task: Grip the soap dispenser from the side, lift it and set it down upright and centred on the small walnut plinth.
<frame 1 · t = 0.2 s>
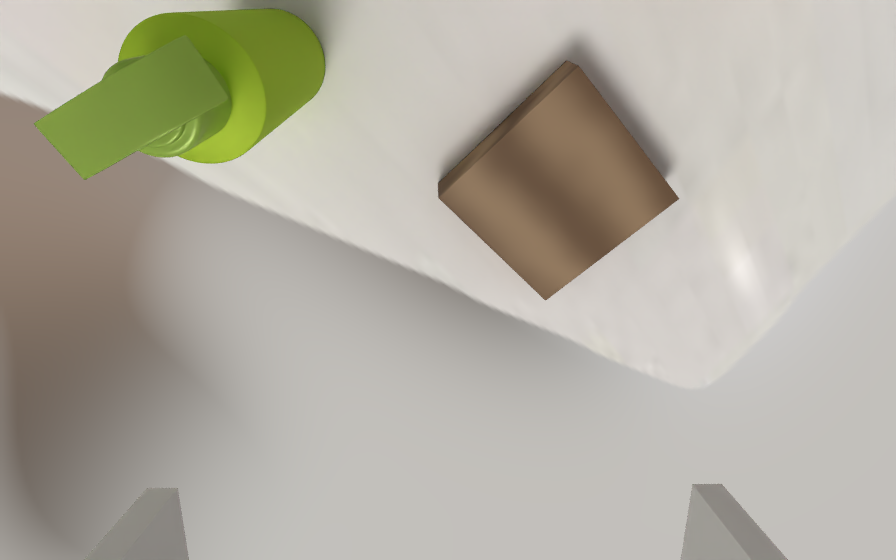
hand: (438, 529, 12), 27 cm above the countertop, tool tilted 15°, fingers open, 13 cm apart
plinth: (550, 184, 36), on the countertop
soap dispenser: (287, 56, 31), on the countertop
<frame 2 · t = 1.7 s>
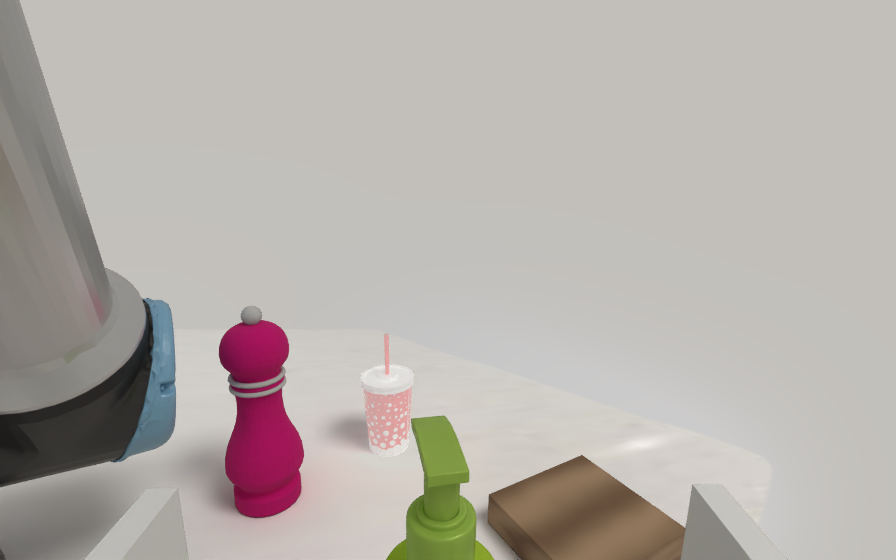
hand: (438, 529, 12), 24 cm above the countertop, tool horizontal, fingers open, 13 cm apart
plinth: (581, 539, 43), on the countertop
beverage cup: (389, 446, 57), on the countertop
pepper mill: (269, 497, 48), on the countertop
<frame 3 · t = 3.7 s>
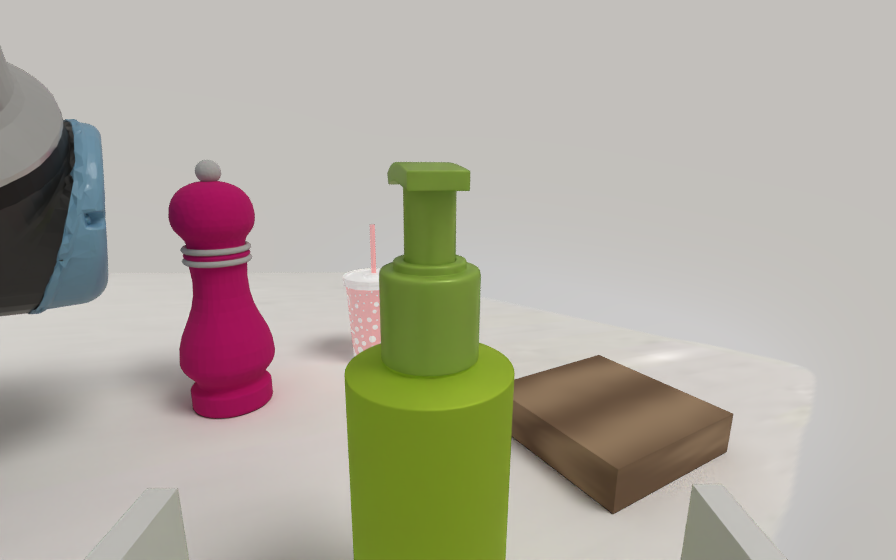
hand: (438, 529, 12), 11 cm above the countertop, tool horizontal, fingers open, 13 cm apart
plinth: (602, 435, 36), on the countertop
beverage cup: (376, 360, 50), on the countertop
pepper mill: (234, 402, 41), on the countertop
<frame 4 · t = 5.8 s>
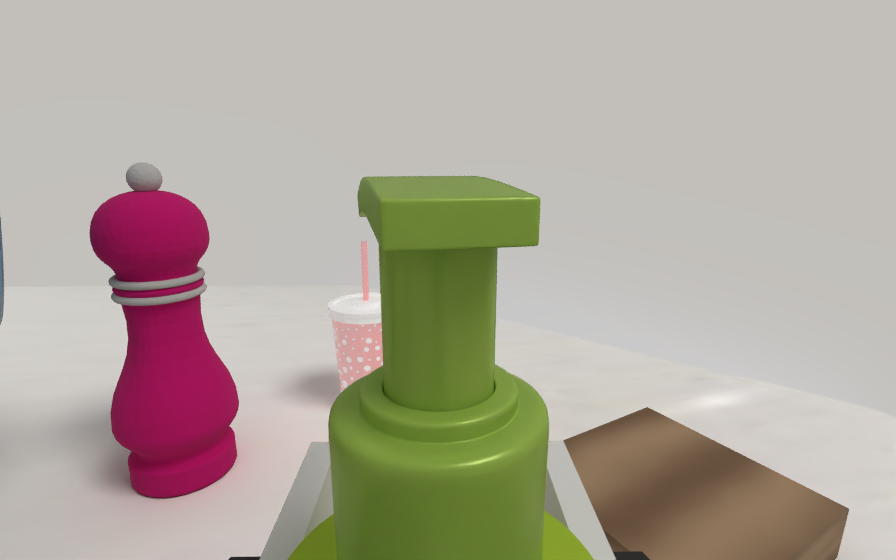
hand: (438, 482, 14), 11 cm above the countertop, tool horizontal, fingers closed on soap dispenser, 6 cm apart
plinth: (664, 527, 27), on the countertop
beverage cup: (369, 404, 41), on the countertop
pepper mill: (187, 469, 32), on the countertop
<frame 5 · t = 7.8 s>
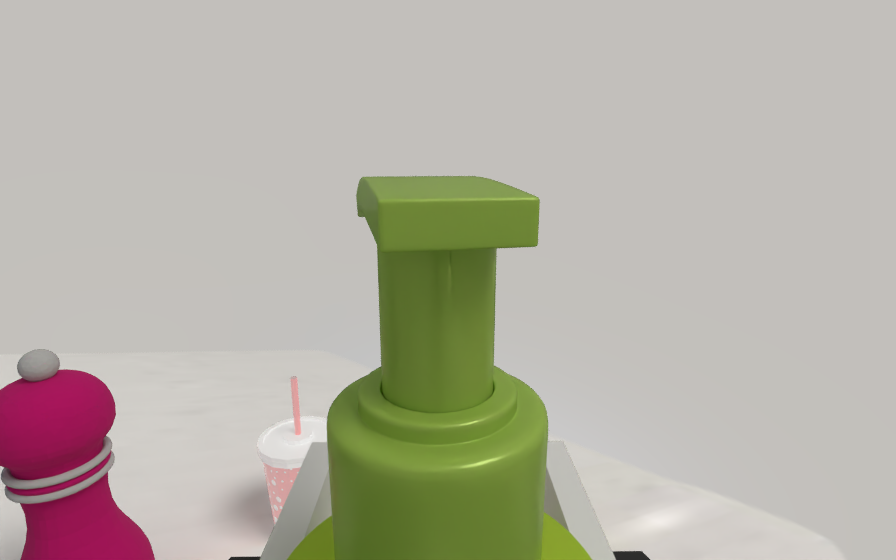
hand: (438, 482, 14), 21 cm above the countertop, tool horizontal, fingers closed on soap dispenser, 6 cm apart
beverage cup: (305, 532, 40), on the countertop
when the fingers open (15 cm above the countertop, at t = 10.0 s): soap dispenser drops 1 cm, resting on plinth.
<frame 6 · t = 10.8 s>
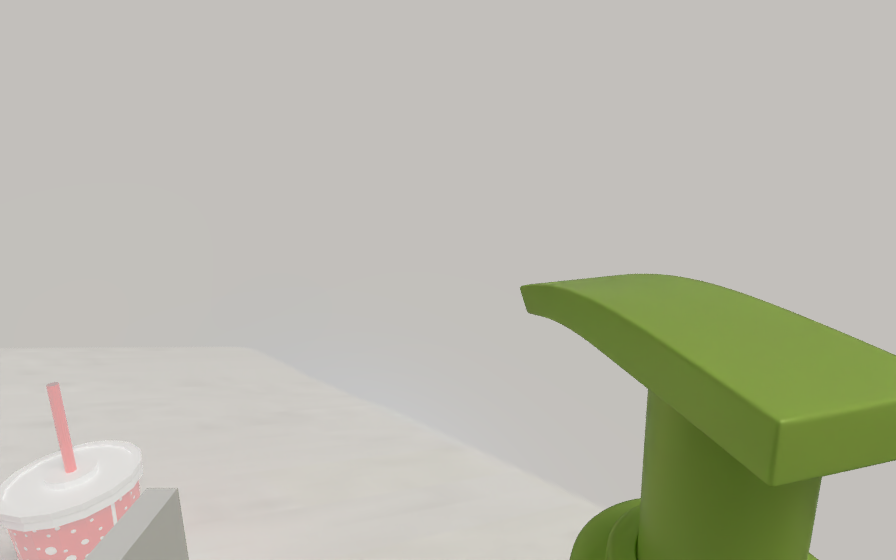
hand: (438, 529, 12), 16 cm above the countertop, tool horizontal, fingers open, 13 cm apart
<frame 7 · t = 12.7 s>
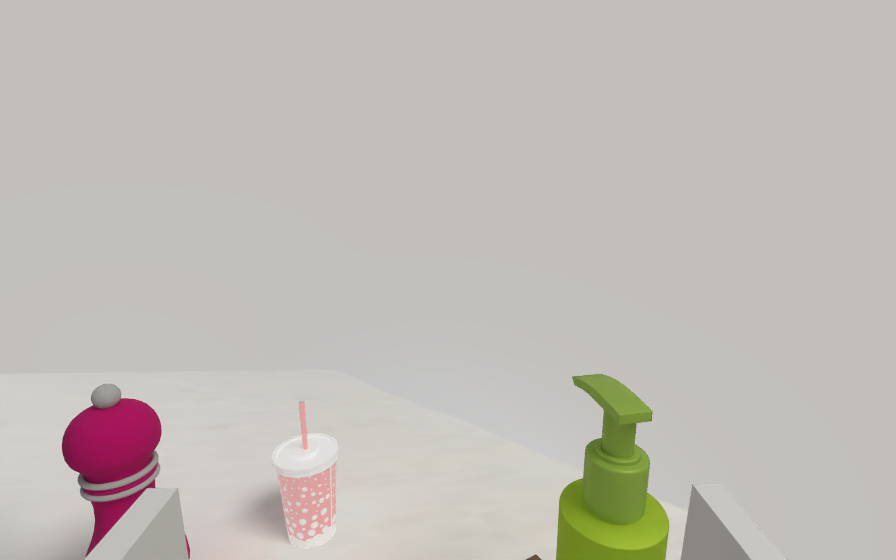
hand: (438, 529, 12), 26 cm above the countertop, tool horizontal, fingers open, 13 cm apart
beverage cup: (312, 532, 47), on the countertop
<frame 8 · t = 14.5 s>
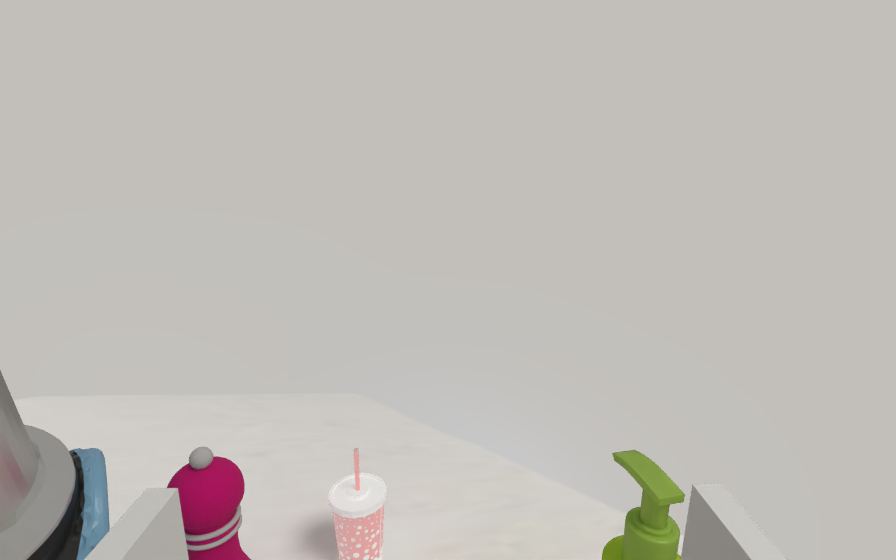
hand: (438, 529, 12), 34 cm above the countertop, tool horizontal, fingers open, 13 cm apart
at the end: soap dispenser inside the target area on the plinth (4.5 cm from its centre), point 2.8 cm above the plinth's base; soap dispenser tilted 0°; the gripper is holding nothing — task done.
